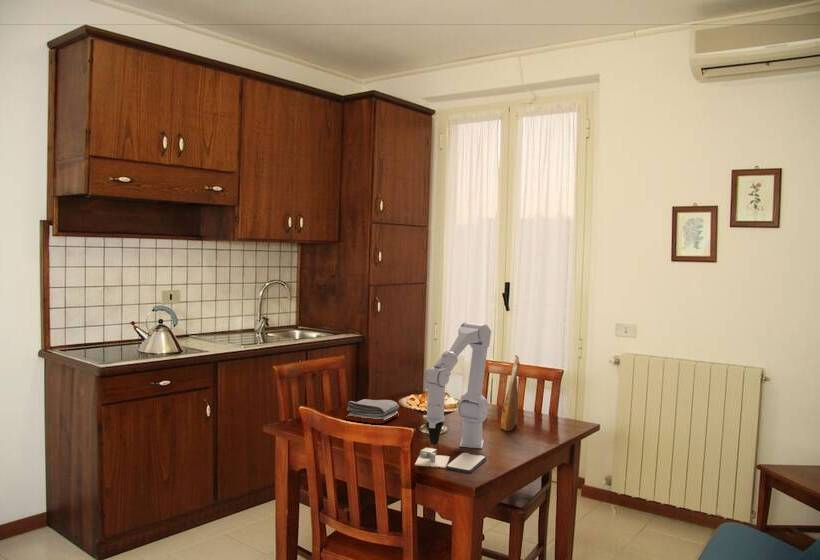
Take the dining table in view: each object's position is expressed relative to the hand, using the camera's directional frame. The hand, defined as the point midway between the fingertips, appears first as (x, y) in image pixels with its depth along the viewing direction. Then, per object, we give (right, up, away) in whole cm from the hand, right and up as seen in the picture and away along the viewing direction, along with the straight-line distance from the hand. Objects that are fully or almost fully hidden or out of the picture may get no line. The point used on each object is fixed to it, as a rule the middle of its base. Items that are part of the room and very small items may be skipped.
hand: (434, 444), depth 212 cm
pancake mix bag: (+32, -4, +44) cm, 55 cm away
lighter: (0, -4, +4) cm, 5 cm away
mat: (-1, -5, -3) cm, 6 cm away
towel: (-24, -3, +49) cm, 55 cm away
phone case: (+10, -6, -4) cm, 13 cm away
